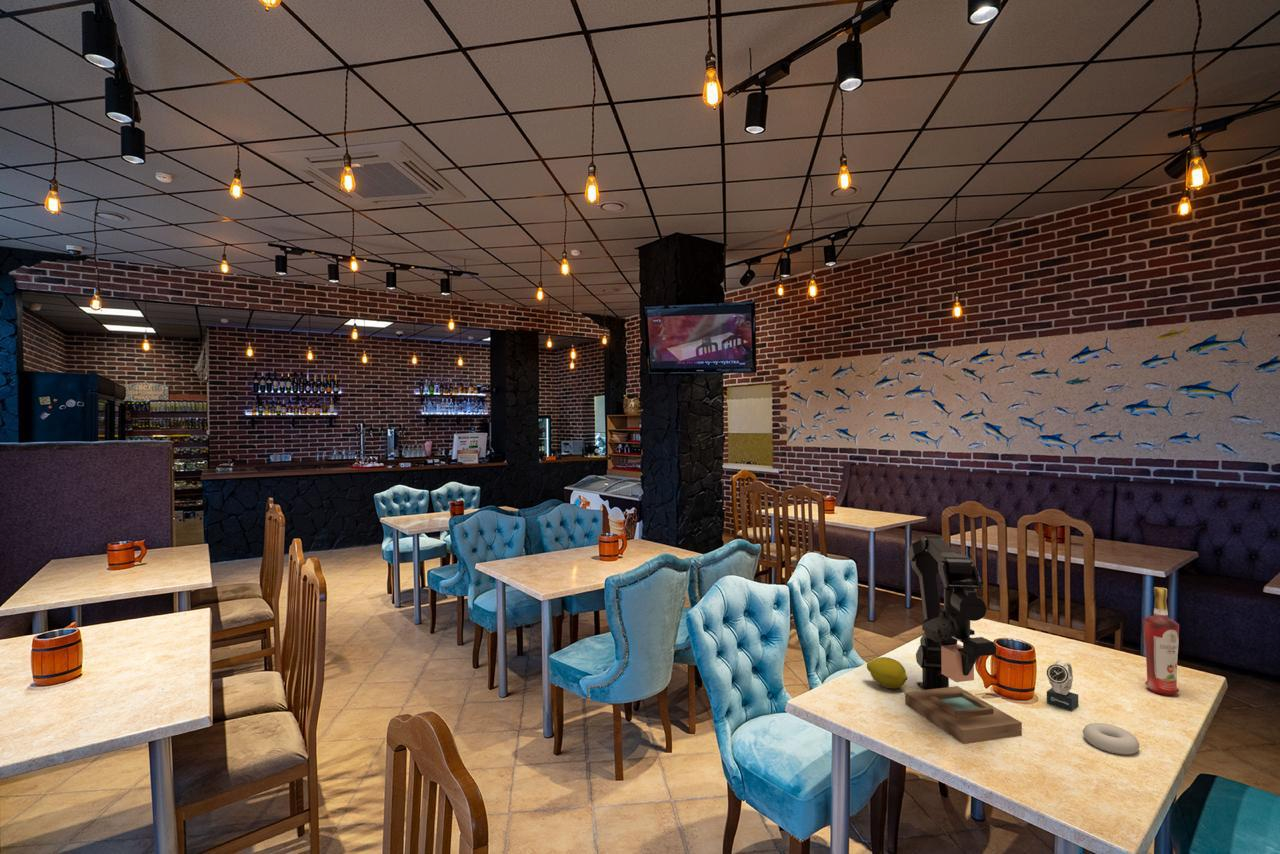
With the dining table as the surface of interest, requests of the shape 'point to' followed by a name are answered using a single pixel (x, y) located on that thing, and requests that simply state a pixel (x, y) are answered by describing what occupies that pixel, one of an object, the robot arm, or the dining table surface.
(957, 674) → the terracotta block
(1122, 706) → the dining table surface
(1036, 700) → the dining table surface
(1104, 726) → the donut
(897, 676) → the lemon
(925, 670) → the robot arm
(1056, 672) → the watch
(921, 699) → the brown flat frame
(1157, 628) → the liquor
